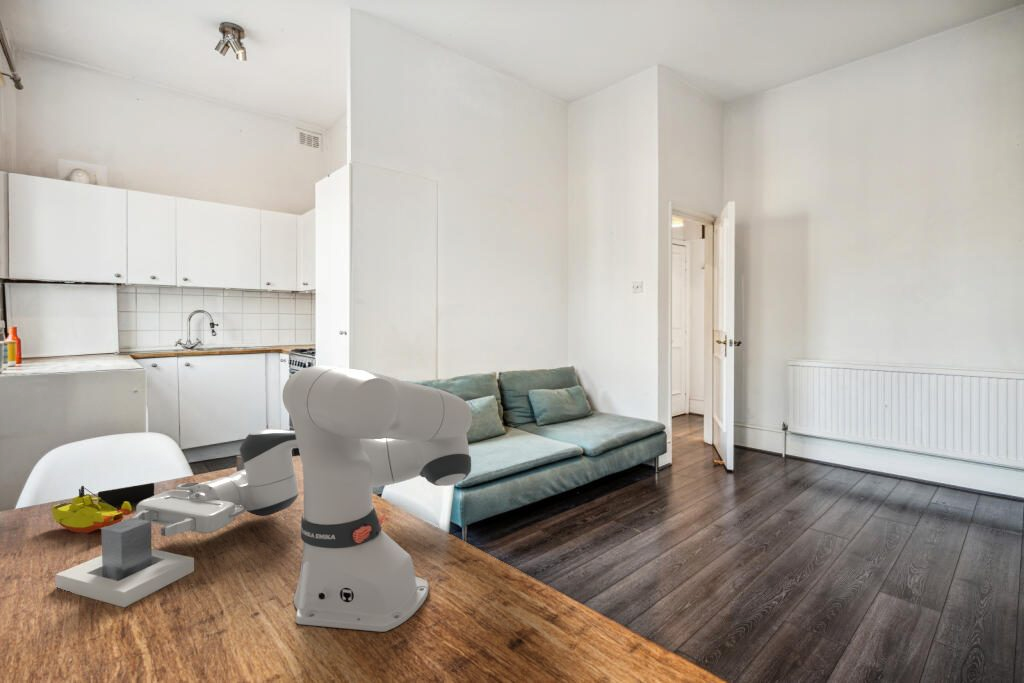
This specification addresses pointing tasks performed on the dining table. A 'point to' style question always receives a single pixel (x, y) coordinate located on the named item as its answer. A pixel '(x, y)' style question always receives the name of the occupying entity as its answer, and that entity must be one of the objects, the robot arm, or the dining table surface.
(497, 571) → the dining table surface
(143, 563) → the grey metal block
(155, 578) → the white rectangular frame
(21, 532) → the dining table surface
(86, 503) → the toy boat
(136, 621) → the dining table surface
